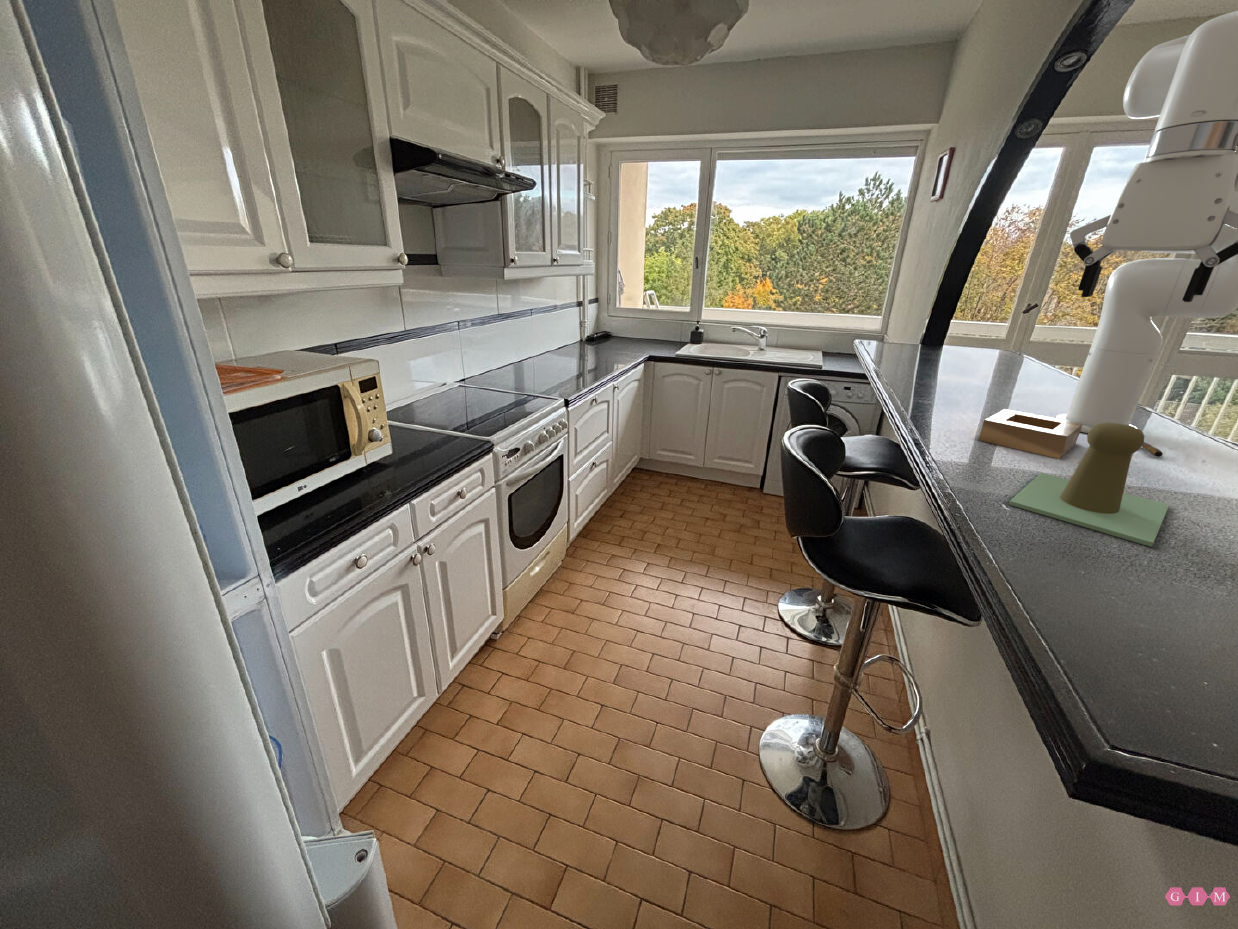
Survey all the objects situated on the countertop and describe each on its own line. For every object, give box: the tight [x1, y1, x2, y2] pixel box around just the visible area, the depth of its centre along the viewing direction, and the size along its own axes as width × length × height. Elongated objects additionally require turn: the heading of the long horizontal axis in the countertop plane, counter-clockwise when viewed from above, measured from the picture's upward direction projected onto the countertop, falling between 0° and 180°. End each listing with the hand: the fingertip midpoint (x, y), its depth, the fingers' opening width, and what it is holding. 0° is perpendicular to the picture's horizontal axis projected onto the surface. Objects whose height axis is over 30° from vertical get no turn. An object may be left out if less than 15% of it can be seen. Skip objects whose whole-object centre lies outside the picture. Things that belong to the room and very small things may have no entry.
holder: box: [977, 408, 1083, 460], centre depth 92 cm, size 12×12×4 cm
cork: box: [1060, 423, 1145, 514], centre depth 66 cm, size 6×6×11 cm
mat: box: [1008, 472, 1170, 548], centre depth 68 cm, size 16×14×1 cm
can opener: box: [1141, 441, 1164, 458], centre depth 90 cm, size 9×2×1 cm, turn 147°
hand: (1134, 298), depth 66 cm, fingers open, 9 cm apart
